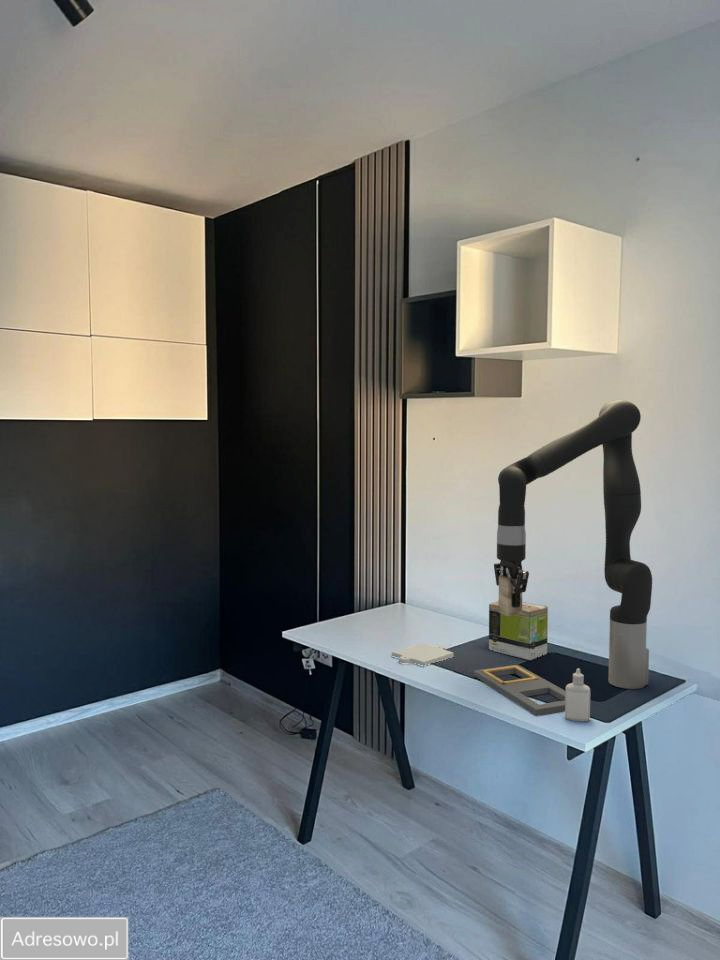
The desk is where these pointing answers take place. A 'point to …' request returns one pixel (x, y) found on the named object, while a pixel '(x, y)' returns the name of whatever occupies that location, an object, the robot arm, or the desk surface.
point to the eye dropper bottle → (577, 699)
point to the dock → (523, 688)
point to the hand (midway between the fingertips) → (510, 604)
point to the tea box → (519, 631)
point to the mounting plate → (422, 654)
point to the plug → (507, 598)
